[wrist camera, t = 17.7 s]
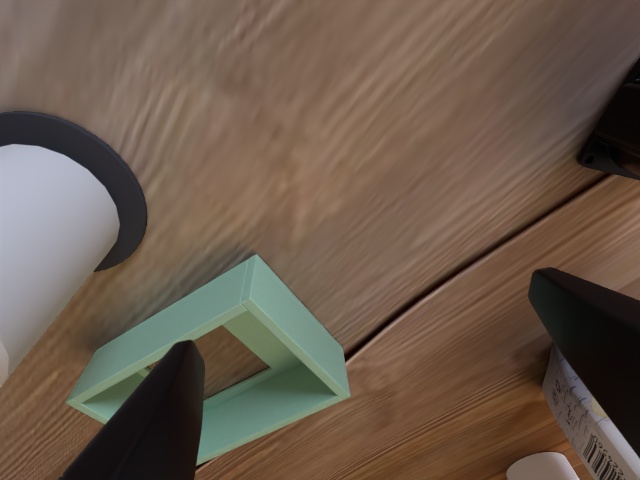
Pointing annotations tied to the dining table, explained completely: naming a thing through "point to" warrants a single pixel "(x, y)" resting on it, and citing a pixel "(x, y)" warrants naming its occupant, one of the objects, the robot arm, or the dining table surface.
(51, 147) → the coaster
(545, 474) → the cylindrical container
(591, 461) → the juice carton
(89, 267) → the can
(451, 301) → the dining table surface
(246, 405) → the green open box
